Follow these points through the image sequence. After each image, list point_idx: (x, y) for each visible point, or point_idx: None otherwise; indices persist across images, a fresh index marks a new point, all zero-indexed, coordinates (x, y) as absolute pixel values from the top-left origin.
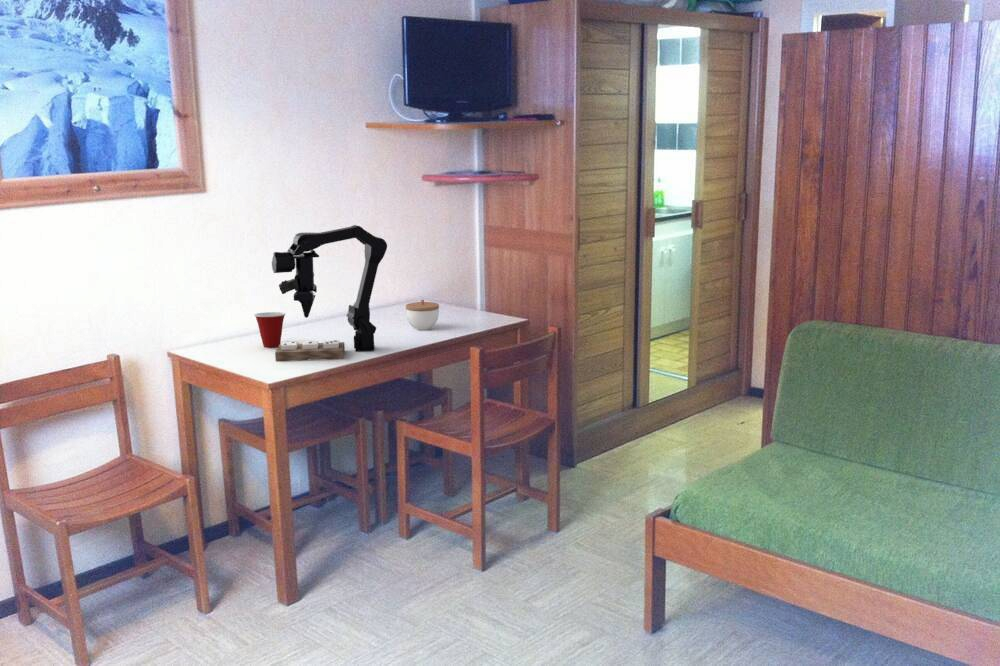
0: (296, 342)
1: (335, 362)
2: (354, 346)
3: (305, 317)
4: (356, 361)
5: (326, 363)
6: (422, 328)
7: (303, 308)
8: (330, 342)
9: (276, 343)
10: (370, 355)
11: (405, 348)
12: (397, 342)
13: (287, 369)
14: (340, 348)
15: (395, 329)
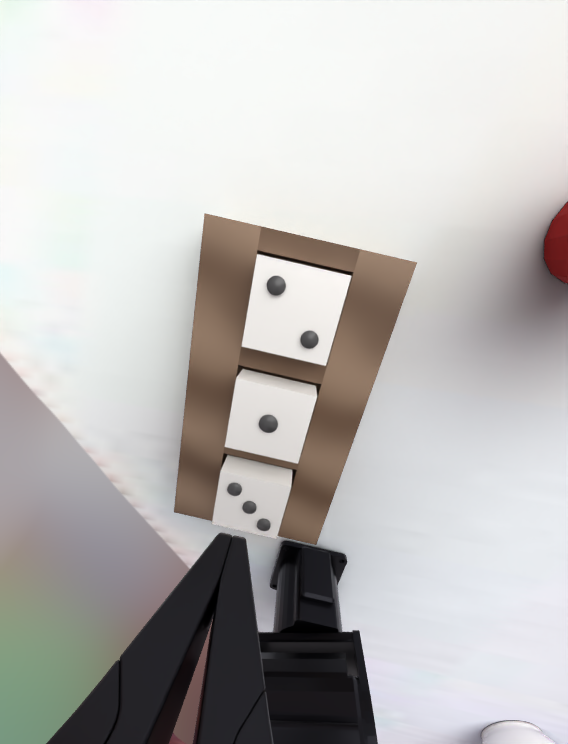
0: (305, 357)
1: (144, 455)
2: (301, 554)
3: (219, 535)
4: (145, 512)
5: (135, 426)
6: (486, 736)
7: (114, 671)
8: (244, 502)
9: (558, 259)
10: None
11: None
12: None
13: (57, 266)
14: (206, 511)
15: (550, 690)
